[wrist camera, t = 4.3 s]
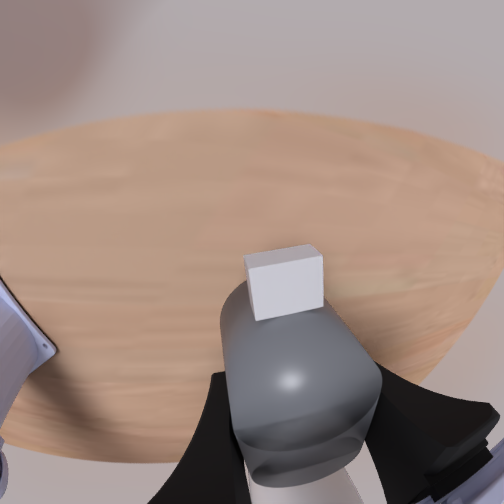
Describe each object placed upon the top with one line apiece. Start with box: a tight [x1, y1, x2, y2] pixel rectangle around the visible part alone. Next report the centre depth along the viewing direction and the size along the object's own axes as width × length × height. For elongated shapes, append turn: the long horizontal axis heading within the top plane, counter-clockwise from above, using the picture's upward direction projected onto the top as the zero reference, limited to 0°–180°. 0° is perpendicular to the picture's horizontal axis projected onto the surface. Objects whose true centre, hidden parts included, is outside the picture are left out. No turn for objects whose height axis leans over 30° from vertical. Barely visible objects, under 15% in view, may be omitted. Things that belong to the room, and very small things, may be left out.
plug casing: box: [220, 244, 382, 488], centre depth 9 cm, size 10×4×5 cm, turn 7°
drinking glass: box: [248, 467, 363, 504], centre depth 14 cm, size 7×7×15 cm
